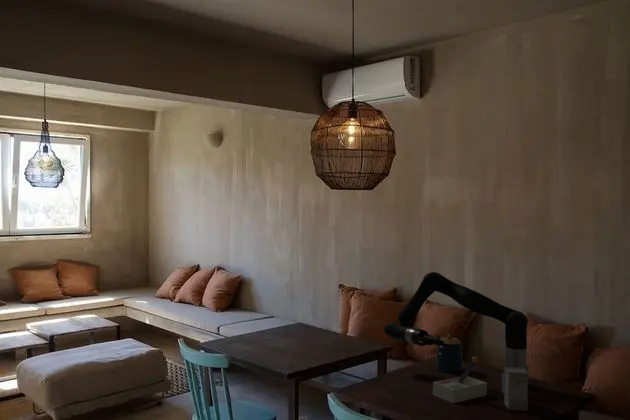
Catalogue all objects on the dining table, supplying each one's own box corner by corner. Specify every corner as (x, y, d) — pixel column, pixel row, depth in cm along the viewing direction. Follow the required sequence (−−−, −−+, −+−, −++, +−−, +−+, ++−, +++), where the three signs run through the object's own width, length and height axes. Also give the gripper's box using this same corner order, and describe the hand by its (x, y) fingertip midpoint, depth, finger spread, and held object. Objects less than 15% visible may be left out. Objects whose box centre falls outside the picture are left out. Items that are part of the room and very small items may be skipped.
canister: (436, 372, 281) (437, 336, 281) (435, 365, 294) (435, 330, 294) (463, 374, 279) (464, 337, 279) (461, 366, 292) (461, 332, 291)
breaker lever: (460, 378, 248) (476, 354, 241) (464, 383, 246) (480, 359, 239) (456, 379, 247) (472, 355, 239) (460, 384, 245) (476, 360, 237)
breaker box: (465, 387, 257) (466, 374, 257) (486, 395, 247) (486, 382, 247) (432, 394, 247) (433, 381, 247) (453, 403, 237) (453, 389, 237)
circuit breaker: (518, 398, 244) (519, 363, 244) (527, 410, 230) (528, 373, 230) (500, 397, 245) (501, 362, 244) (508, 409, 230) (509, 372, 230)
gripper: (405, 330, 267) (431, 336, 253) (427, 327, 274) (453, 333, 259) (406, 346, 267) (432, 353, 253) (427, 342, 274) (453, 349, 259)
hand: (442, 343), depth 256 cm, fingers closed
